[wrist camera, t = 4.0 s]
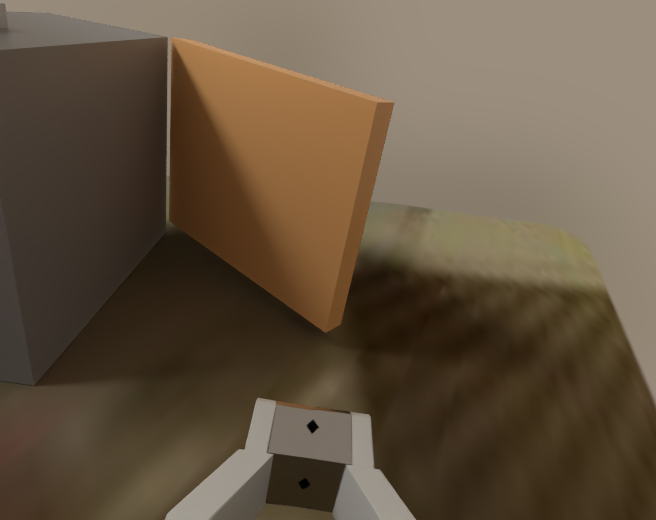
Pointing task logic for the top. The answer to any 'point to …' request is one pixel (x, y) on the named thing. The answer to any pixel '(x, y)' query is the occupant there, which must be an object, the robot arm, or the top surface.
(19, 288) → the block
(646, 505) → the top surface
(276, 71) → the side door
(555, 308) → the top surface
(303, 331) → the top surface
